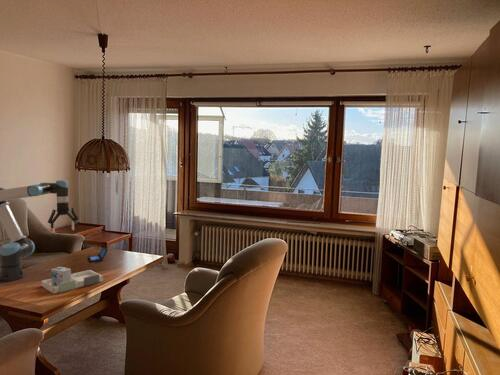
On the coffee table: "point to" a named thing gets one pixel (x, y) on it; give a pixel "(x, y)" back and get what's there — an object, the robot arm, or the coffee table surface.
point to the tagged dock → (74, 281)
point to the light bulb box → (60, 275)
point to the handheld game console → (99, 256)
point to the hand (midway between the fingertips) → (63, 231)
